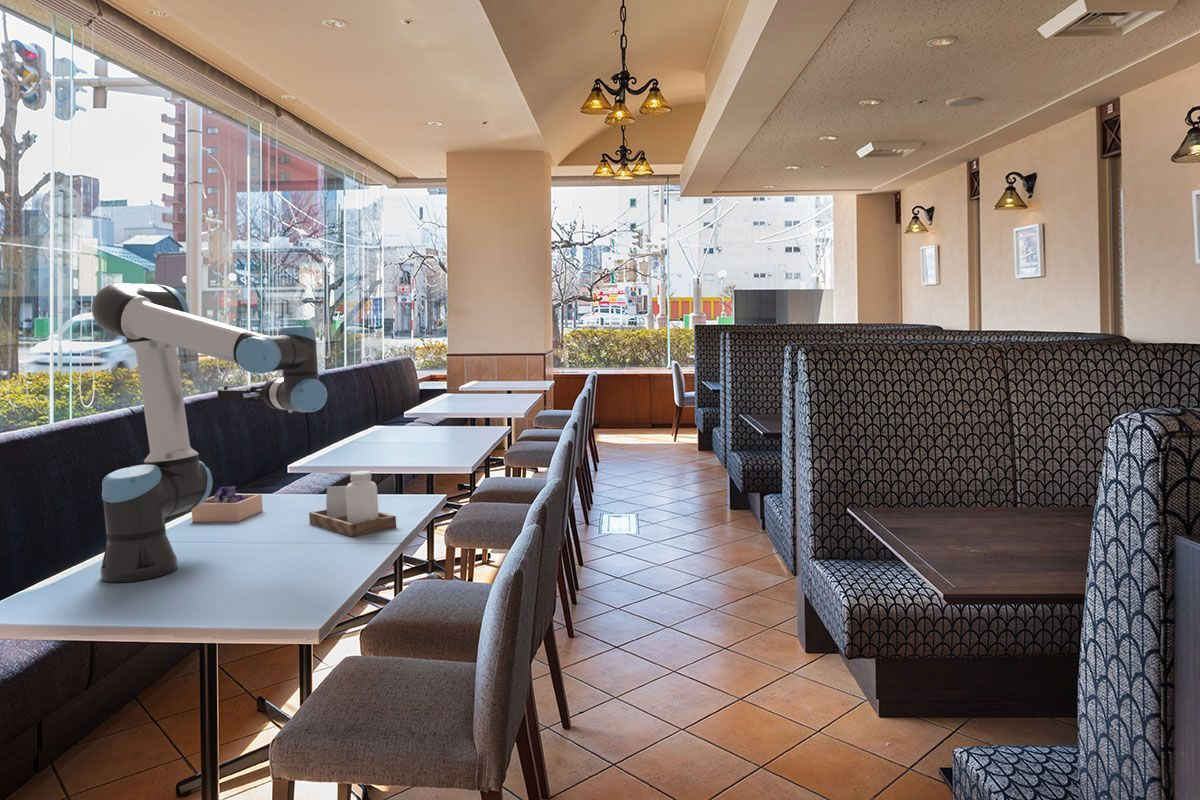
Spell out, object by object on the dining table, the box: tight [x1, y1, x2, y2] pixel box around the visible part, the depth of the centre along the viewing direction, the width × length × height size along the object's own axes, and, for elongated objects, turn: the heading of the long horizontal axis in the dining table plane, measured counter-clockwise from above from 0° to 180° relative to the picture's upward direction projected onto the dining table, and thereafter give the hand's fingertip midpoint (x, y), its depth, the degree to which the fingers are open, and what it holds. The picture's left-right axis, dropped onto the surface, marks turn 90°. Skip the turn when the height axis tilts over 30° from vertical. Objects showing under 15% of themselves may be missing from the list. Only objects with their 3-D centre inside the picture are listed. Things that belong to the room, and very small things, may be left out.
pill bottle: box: [345, 470, 379, 524], centre depth 225 cm, size 8×8×15 cm
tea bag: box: [325, 485, 347, 518], centre depth 234 cm, size 4×7×10 cm, turn 93°
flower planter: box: [190, 493, 264, 523], centre depth 247 cm, size 13×14×5 cm
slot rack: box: [308, 508, 397, 538], centre depth 230 cm, size 24×12×3 cm, turn 44°
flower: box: [213, 485, 245, 503], centre depth 248 cm, size 9×9×10 cm
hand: (247, 390), depth 216 cm, fingers open, 13 cm apart
